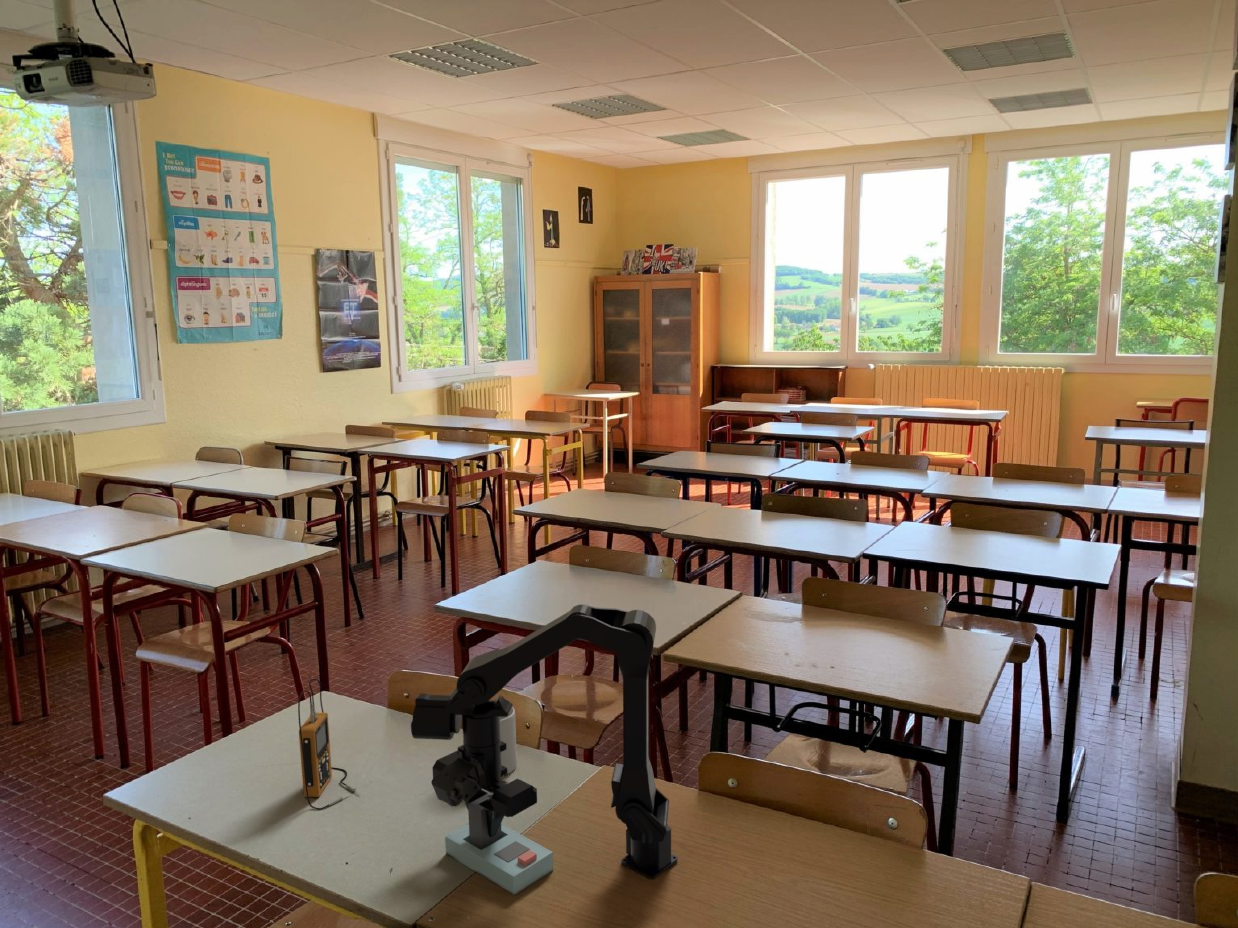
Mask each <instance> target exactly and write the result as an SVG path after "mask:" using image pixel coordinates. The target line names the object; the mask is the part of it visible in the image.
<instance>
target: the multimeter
mask: <svg viewBox="0 0 1238 928" xmlns="http://www.w3.org/2000/svg"><path fill="white" fill-rule="evenodd" d="M313 681H317V682H318V684H319V700H320V701H319V702H320V708H321V712H316V708H315V700H314V699H315V698H314V691H313V688H312V685H311V683H312V682H313ZM308 684H309V688H310V691H308V690H307V689H305V690H303V691H302V692H300V694H299V698H298V705H297V706H298V708H297V709H298V710H297V712H298V715H297V716H298V726H299V730H298V736H299V737H298V738H299V740H298V742H299V751H300V765H301V766H300V767H301V778H302V788H303V796H304V798H307V802H308V804H309V807H310V808H312V809H315V810H318V811H319V810H323V809H326V808H328V807H330V806H333V805H334V804H336V803H339V802H341V801H343V799H344V798H346V797H348V796H350V795H351V793H348V794H345V795H344V796H340V797H339V798H336V799H334V800H333V801H331V802H329V803H328V804H327V805H325V806H322V807H315V806H313V805H312V803H311V802H310V798H319V797H320V796H322V793H323V791H324V790H325V789H326V787H327V785H328V784H329V782H330V781H331V780H332V778H333V777H332V776H333V774H332V769H334V770H339V771H343V772H344V773H345V776H344V777H343V778H341V779H340V781H339V782H340V784H342V785H343V786H345V787H346V788H347V789H349V790H351V791H352V792H353V793H358V795H362V794H361V793H360V791H358V790H357V788H354V787H353V786H351V785H349V784H347V783H344V782H343V781H344V780H345V779H346V778H348V777H347V776H348V772H347V770H345V769H344V768H340V767H333V766H332V757H331V755H332V754H331V742H330V730H329V729H330V727H329V716H328V712H324V708H323V707H324V706H323V701H322V685H321V684H322V683H321V681H320V679H318V678H311V679H310V680H309V681H308ZM305 692H306V693H307V694H308V695H309V707H310V708H309V709H310V710H309V711H310V714H309V717H308V718H307V719H306V720H305V722H304V723H303V724H302V725H301V709H300V708H301V706H300V705H301V698H302V696H303V693H305Z"/></svg>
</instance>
